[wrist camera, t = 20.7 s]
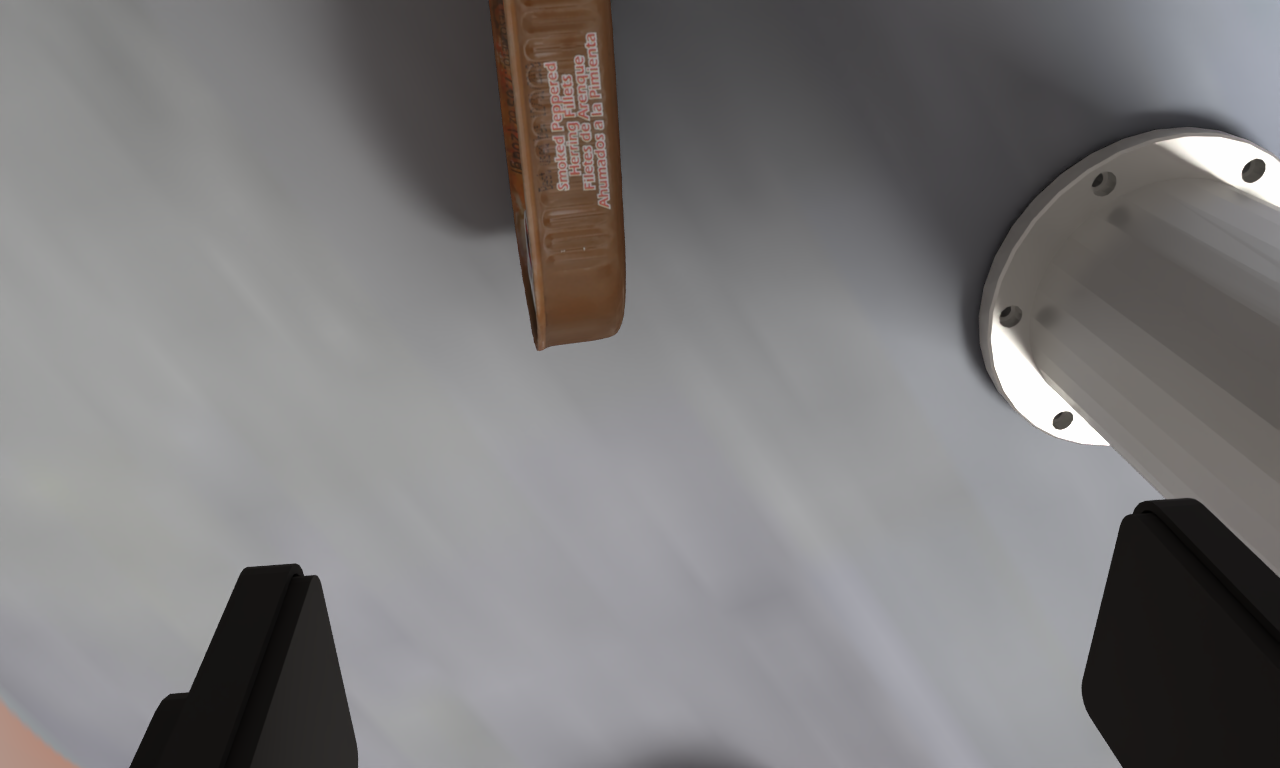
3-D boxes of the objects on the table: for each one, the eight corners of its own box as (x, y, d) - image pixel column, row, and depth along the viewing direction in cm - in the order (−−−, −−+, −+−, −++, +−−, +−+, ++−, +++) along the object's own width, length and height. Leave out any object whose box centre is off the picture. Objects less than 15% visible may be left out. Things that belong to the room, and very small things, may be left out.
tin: (465, -206, 28) (449, -230, 20) (577, -211, 28) (600, -237, 21) (520, 288, 35) (523, 402, 28) (609, 280, 35) (635, 392, 28)
